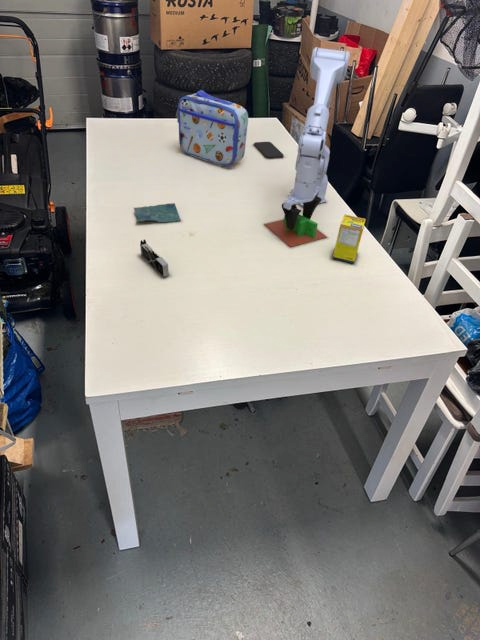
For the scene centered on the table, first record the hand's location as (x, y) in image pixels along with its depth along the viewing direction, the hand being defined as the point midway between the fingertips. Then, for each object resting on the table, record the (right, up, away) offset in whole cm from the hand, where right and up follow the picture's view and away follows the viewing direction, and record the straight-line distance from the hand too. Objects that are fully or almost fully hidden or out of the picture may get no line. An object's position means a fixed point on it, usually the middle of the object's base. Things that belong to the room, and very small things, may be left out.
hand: (298, 223), depth 134 cm
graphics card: (-39, -14, -16) cm, 44 cm away
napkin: (-1, -2, +2) cm, 3 cm away
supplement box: (+12, -10, -6) cm, 17 cm away
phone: (-6, +39, +48) cm, 62 cm away
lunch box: (-28, +33, +39) cm, 58 cm away
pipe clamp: (0, -2, +2) cm, 3 cm away
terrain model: (-42, +2, +3) cm, 42 cm away
